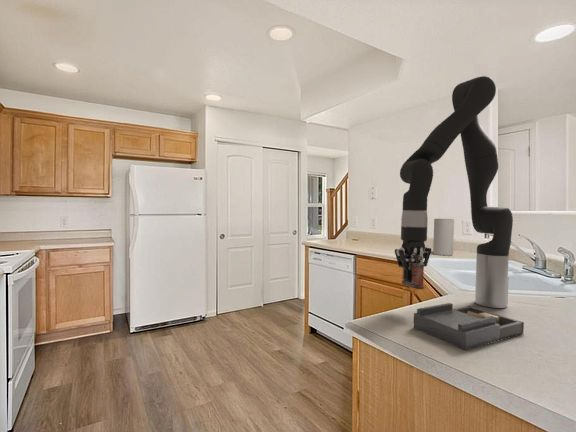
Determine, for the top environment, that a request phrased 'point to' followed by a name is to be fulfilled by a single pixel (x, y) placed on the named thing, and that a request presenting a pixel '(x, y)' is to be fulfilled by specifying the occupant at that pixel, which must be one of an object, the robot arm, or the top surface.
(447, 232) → the cylinder vase
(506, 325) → the tray
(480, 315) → the chip
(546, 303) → the top surface
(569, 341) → the top surface
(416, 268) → the lighter
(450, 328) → the slot block
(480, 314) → the chip
